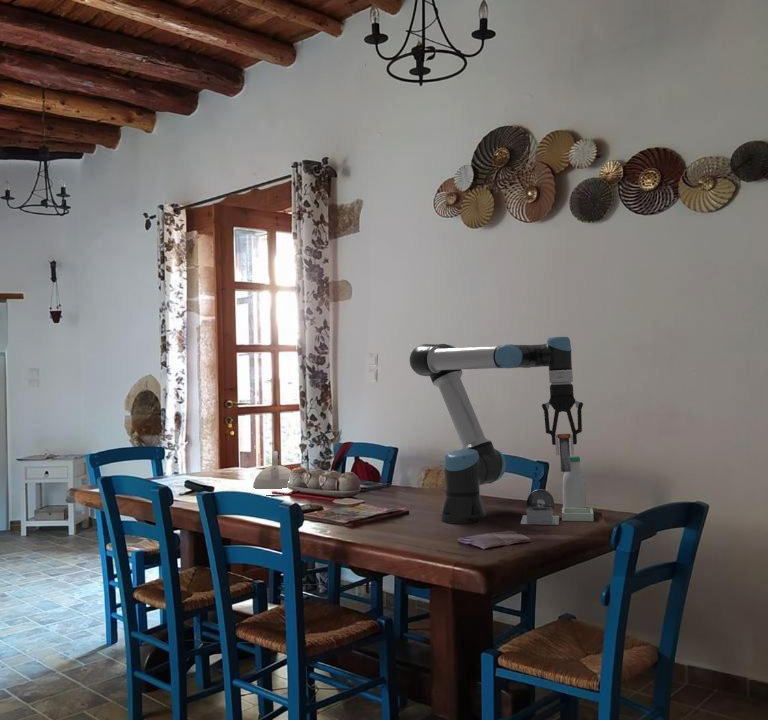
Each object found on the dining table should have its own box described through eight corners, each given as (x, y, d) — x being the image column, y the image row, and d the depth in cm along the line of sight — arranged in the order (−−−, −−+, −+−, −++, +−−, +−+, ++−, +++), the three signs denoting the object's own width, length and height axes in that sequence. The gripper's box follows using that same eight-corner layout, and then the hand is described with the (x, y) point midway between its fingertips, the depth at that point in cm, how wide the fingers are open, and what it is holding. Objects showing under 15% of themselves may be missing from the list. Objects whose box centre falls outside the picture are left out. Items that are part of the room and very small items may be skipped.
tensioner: (520, 527, 257) (519, 495, 257) (523, 518, 272) (522, 488, 272) (558, 528, 255) (557, 496, 255) (559, 519, 269) (558, 488, 269)
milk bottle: (586, 516, 273) (584, 457, 273) (563, 516, 275) (561, 457, 275) (585, 512, 281) (583, 455, 281) (563, 512, 282) (561, 455, 283)
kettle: (250, 497, 334) (249, 454, 335) (254, 489, 355) (253, 449, 355) (299, 495, 336) (298, 452, 336) (300, 488, 357) (299, 447, 357)
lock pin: (558, 472, 261) (556, 434, 261) (559, 470, 265) (557, 433, 265) (572, 472, 260) (570, 434, 260) (572, 470, 264) (570, 433, 264)
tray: (562, 524, 261) (561, 513, 261) (562, 518, 271) (562, 507, 271) (593, 524, 259) (593, 513, 259) (592, 519, 268) (592, 508, 268)
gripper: (533, 385, 262) (537, 456, 261) (587, 382, 257) (591, 455, 257) (535, 384, 269) (539, 454, 269) (588, 382, 265) (592, 453, 264)
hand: (565, 454), depth 263 cm, fingers closed on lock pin, 4 cm apart
